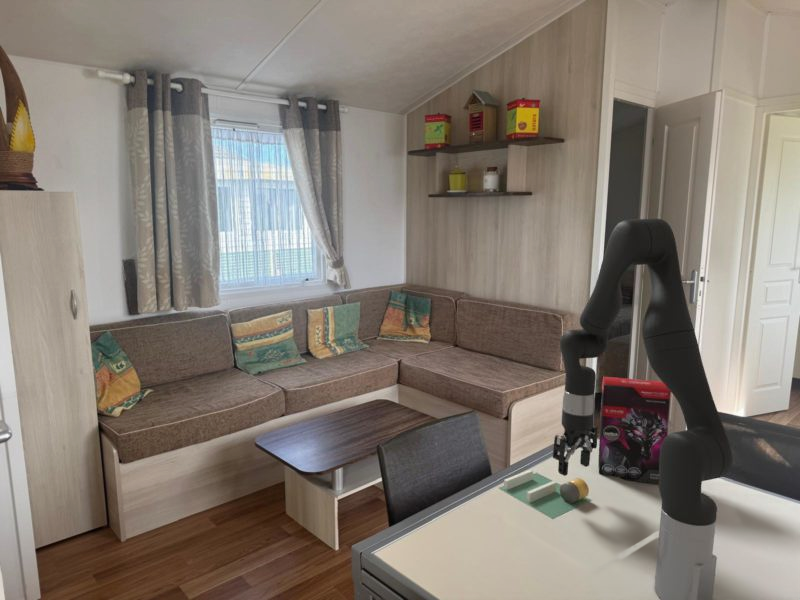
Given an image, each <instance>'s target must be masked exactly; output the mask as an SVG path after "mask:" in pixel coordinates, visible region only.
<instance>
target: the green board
mask: <svg viewBox="0 0 800 600" xmlns="http://www.w3.org/2000/svg"><path fill="white" fill-rule="evenodd" d="M552 481H553V480H552V479H550V478H548V477H547V476H544V475H542V474H540V473H538V472H535V473H534V472H533V480H530V481H528V482H525V483H523V484H521V485H518V486H516V487H513V488H511V489H508V490H505V489H504V485H502V486H499V487H498V489H499V490H501V491H503V492H504V493H506V494H508V495H509V496H511V497H513V498H514V499H517V500H518V501H520V502H522V503H524V505H525V504H526V505H527V506H529V507H531V508H532V509H534V510H536V511H538V512H539V513H541V514H543V515H545V516H547V517H548V518H550V519H552V520H554V519H556V518H558V517H561V516H562V515H564V514H566V513H568V512H570V511H573V510H574V509H576V508H578V507H581V506H583V505H585V504H587V503H589V502H591V501H592V499H591V498H588V496H586V497H584V498H582V499H580V500H578V501H576V502H574V503H567V502H566V501H564V500H563V498H562V497H561V494H560V487H561V485H562V484H561V483H558V482H556V492H553V493H551V494H549V495H546V496H544V497H542V498H540V499H537V500H535V501H533V502H530V503H529V502H527V501H526V499H527V492H528V491H530V490H533V489H535V488H538V487H540V486H542V485H545V484H547V483H549V482H552Z"/></svg>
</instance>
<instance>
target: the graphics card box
mask: <svg viewBox="0 0 800 600" xmlns="http://www.w3.org/2000/svg"><path fill="white" fill-rule="evenodd" d="M602 377H603V378H602V387H601V403H600V423H599V441H598V446H599V447H598V460H597V461H598V466H597V467H598V475H601V476H609V477H615V478H619V479H623V480H626V481H628V480H629V481H636V482H643V483H651V484H658V485H659V459H660V449H661V445H662V442H663V440H664V438H665V437H666V436H667V435H668V429H669V418H670V417H669V415H670V403H671V394H672V392H671V391H670V390H669V389H668V388H667V386H666V385H665V384H664V383H663V382H662V381H657V380H647V379H646V380H645V379H635V378H625V377H624V378H623V377H611V376H602Z"/></svg>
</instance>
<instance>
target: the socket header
mask: <svg viewBox="0 0 800 600" xmlns="http://www.w3.org/2000/svg"><path fill="white" fill-rule="evenodd" d="M533 474H534V471H533V470H532V469H528V470H526V471H523V472H520V473H517V474H516V475H512V476H510V477H508V478H505V479H504V480H503V486H504V489H505V490H508V489H511V488H513V487H516V486H518V485H521V484H523V483H525V482H528V481H530V480H533ZM556 483H557V482H556V481H555V480H552V482H549V483H547V484H545V485H542V486H540V487H538V488H535V489H533V490H530V491H528V492H527V499H526V501H527V502H529V503H530V502H533V501H535V500H537V499H540V498H542V497H544V496H546V495H549V494H551V493H553V492H556Z"/></svg>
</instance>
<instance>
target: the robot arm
mask: <svg viewBox="0 0 800 600" xmlns="http://www.w3.org/2000/svg"><path fill="white" fill-rule="evenodd" d="M604 252H605V253H604V255H603V259H602V261H601V264H600V269H599V271H598V277H597V278H596V281H595V282H596V283H595V286H594V288H593V291H592V293H591V295H590V297H589V299H588V301H587V303H586V304H585V306H584V309H583V310H582V312H581V314H580V317H579V325H580V327H581V328H582V329H581V328H580V329H578V328H577V329H568V330H566V331H565V332H564V333H563V334H562V336H561V337H560V340H559V347H560V353H561V357H562V361H563V366H564V373H565V381H564V392H563V397H562V407H561V409H562V410H561V425H562V427H563V429H564V431H563V433H562V435H558V434H555V436H554V439H553V440H554V441H553V450H552V459H555V460H557V461H558V466H557V467H558V469H557V471H558V473H559V474H560V475H561V476H564V477H566V476H567V475H568V473H569V460H570V458H571V456H573V455H574V453H575V452H576V450H578V449H579V448H580V449H581V450H580V460H579V464H580V465H581V466H583V467H586V468H587V467H590V463H591V462H590V461H591V453H592V452H593V449H597V447H598V426H596V425H594V421H595V420H594V419H595V410H596V409H595V408H596V406H595V405H596V397H595V395H596V382H597V380H596V379H597V377H596V376H597V373H596V371H595V370H594V369H593V368H592V367H590V366H587V365H586V366H585V365H581V362H580V359H582V360H583V359H594V358H598V357H600V356H602V355H603V354H604V353H605V352H606V349H607V347H608V340H609V336H610V335H609V334H610V330H611V327H612V325H613V324H614V322H615V320H616V319H617V317H618V315H619V314H620V311H621V309H622V306H623V292H622V287H621V281H622V277H624V274H625V273H626V272H627V270H628V269H629V268H630V267H631V266H639V265H646V266H647V269H648V272H649V277H650V282H651V295H650V299H649V303H648V306H647V309H646V312H645V314H644V318H643V321H642V326H641V327H642V328H641V333H642V334H641V335H642V339H643V344H644V348H645V352H646V355H647V359H648V363H649V365H650V368H651V369H652V371H653V372H654V373H655V375H656V376H657V377H658V378H659V379H660V382H663V383H664V384H665V385H666V386H667V388H668V389H669V390H670V391H671V394H672V395H673V396H674V398H675V399H676V401H677V403H678V404H679V407H680V409H681V411H682V412H681V413H682V415H683V419H684V422H685V425H686V430H681V431H680V430H679V431H675V432H671V433H668V434H667V436H666V437H665V438H664V440H663V442H662V445H661V449H660V459H659V484H658V491H659V496H660V498H661V509H660V518H659V519H660V520H659V521H660V522H659V529H658V531H659V532H658V540H657V553H656V566H655V575H654V586H653V587H654V591H655V594H656V595H657V596H658V598H660V599H661V600H713V598H714V588H715V587H714V585H715V580H716V570H717V569H716V568H717V560H718V558H717V555H715V554H713V552H714V543H715V534H716V533H715V532H716V523H717V516H718V506H717V503H716V502H715V501H714V499H712V498H711V497H710V496H709V495H707V494H705V493H703V492H702V483H703V482H705V481H710V480H715V479H720V478H722V477H725V476H727V475H728V474H729V473H730V472H731V469H732V468H733V459H734V458H733V450H732V446H731V443H730V440H729V438H728V434H727V432H726V429H725V427H724V424H723V422H722V419H721V417H720V413H719V412H718V409H717V406H716V403H715V400H714V397H713V394H712V391H711V387H710V384H709V381H708V378H707V373H706V370H705V367H704V363H703V359H702V356H701V351H700V347H699V343H698V339H697V335H696V332H695V328H694V325H693V322H692V318H691V315H690V311H689V307H688V303H687V299H686V295H685V290H684V289H685V288H684V286H683V281H682V275H681V269H680V268H681V267H680V262H679V254H678V249H677V242H676V237H675V235H674V232H673V230H672V228H671V226H670V224H669V223H668V222H667V221H666V220H665V219H662V218H634V219H625V220H622V221H620V222H618V223H617V224H616V226H615V227H614V229H613V230H612V232H611V234H610V237H609V239H608V242H607V245H606V249H605V251H604ZM591 441H592V442H591ZM567 447H568V448H567ZM565 453H566V454H565Z"/></svg>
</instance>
